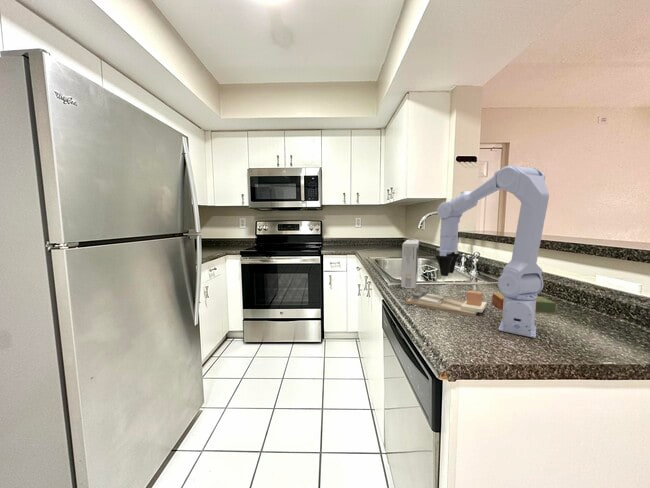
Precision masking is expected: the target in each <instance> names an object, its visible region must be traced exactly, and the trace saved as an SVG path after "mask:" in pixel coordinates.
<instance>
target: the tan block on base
mask: <svg viewBox="0 0 650 488" xmlns="http://www.w3.org/2000/svg"><path fill="white" fill-rule="evenodd" d="M464 301H465V302H464V303H463V304H462V305H461V309H464V310H469V311H475V312H478V313H483V312H484V310H485V309H486V307H487V304H488V303H487V301H483V291H474V290H467V293H466V300H464Z"/></svg>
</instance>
